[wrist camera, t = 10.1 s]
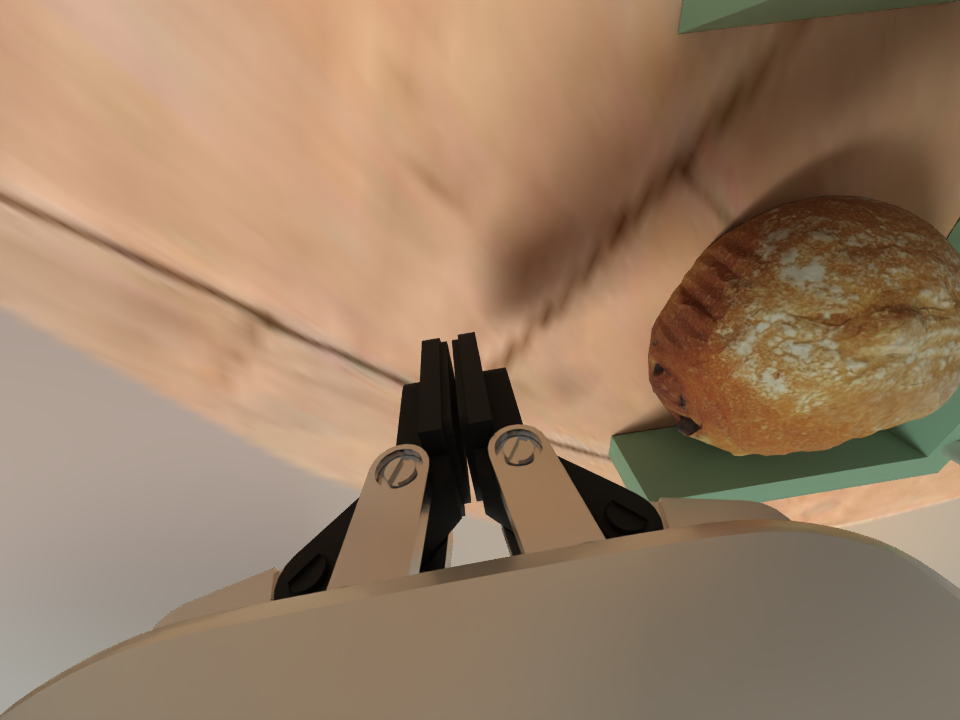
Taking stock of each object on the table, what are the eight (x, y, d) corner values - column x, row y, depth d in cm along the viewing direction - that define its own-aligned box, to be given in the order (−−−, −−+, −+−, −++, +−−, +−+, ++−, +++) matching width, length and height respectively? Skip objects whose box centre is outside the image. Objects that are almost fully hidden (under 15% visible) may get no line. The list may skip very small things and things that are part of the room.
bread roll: (796, 289, 19) (1073, 290, 12) (708, 453, 19) (929, 555, 12) (692, 177, 15) (1008, 75, 8) (584, 383, 15) (795, 471, 8)
